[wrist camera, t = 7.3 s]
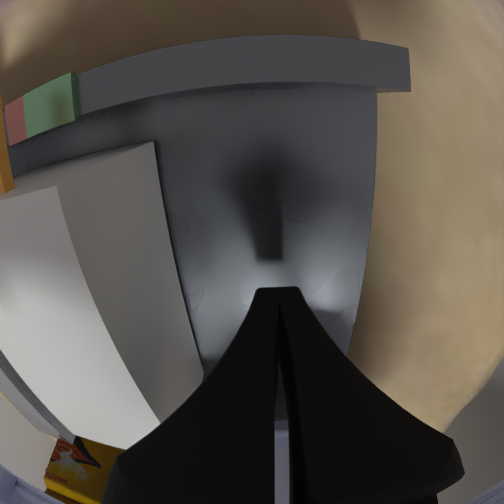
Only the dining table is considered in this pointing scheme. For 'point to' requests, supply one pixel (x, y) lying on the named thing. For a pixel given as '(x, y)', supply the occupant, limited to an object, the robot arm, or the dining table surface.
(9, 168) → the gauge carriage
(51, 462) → the condiment
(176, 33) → the dining table surface
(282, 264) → the gauge frame
